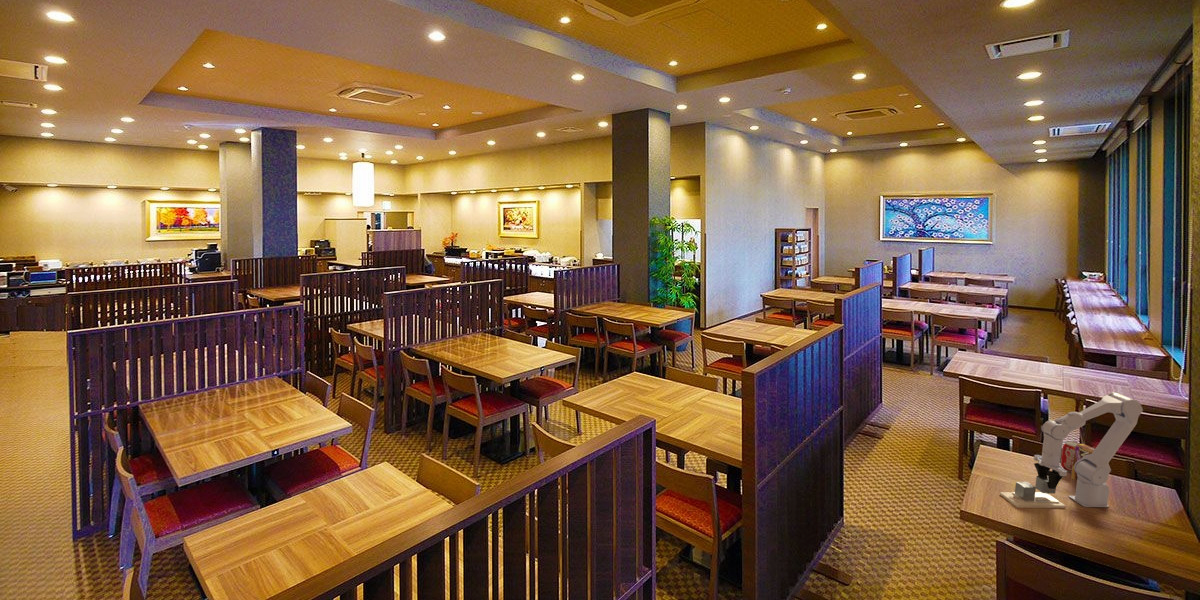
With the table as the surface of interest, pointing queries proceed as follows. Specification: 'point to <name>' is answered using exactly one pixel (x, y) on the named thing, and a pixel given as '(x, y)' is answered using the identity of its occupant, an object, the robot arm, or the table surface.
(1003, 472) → the table surface
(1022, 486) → the block
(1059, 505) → the scale base
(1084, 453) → the candy box
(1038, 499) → the white flat slab
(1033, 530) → the table surface
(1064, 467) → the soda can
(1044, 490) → the spacer
